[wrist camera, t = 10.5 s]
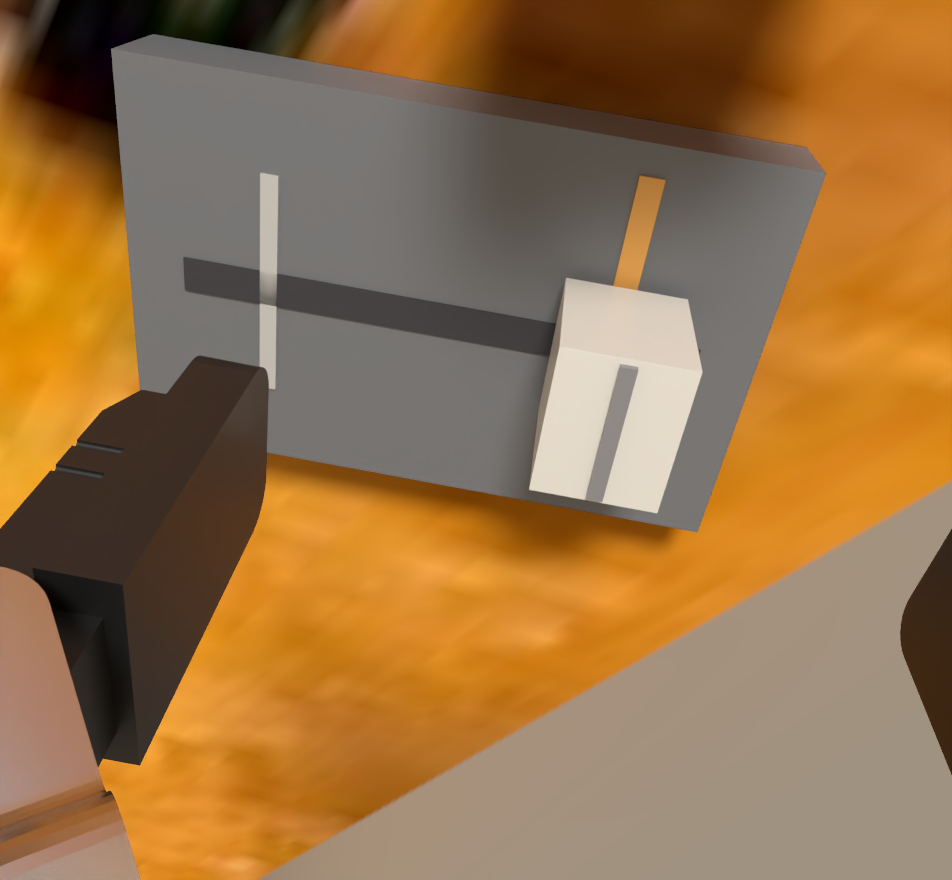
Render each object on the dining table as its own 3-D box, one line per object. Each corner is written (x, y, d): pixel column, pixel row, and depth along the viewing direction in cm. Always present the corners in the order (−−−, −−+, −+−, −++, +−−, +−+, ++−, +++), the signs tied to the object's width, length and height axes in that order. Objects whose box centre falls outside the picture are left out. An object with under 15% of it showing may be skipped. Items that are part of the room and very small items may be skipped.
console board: (174, 392, 37) (142, 430, 34) (153, 34, 29) (109, 49, 27) (690, 487, 36) (697, 533, 34) (806, 147, 29) (826, 174, 26)
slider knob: (538, 407, 31) (528, 493, 27) (565, 277, 28) (559, 349, 24) (649, 428, 31) (657, 517, 27) (687, 299, 28) (703, 375, 24)
